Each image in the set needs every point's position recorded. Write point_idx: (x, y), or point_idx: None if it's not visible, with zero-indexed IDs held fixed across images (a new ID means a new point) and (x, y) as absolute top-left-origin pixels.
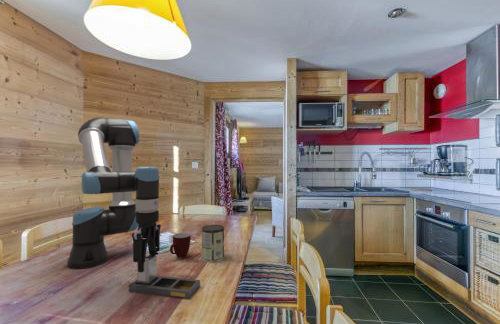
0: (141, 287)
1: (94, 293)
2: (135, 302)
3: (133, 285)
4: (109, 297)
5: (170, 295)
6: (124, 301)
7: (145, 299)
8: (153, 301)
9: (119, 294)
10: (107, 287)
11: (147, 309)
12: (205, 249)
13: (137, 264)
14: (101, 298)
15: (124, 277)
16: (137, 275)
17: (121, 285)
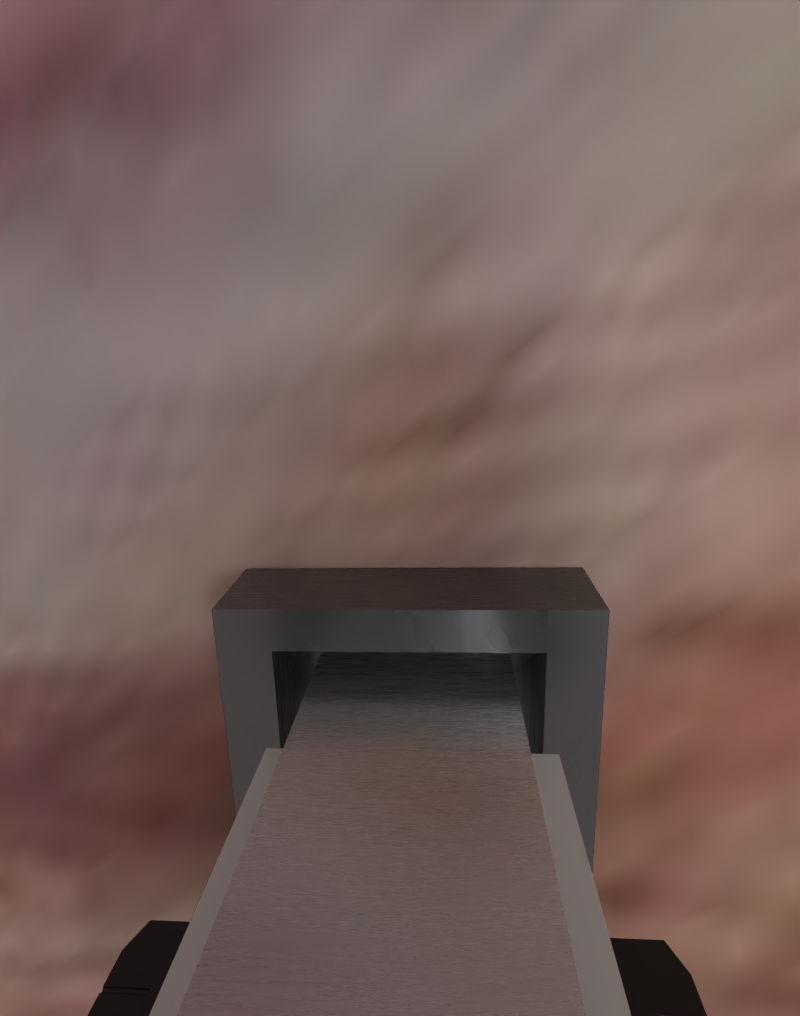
0: (235, 786)
1: (73, 89)
2: (107, 761)
3: (225, 676)
4: (76, 407)
5: None
6: (78, 643)
7: (189, 821)
8: (185, 906)
9: (176, 480)
10: (277, 141)
11: (57, 920)
12: None
13: (205, 953)
14: (19, 320)
15: (654, 149)
16: (283, 754)
17: (388, 321)
